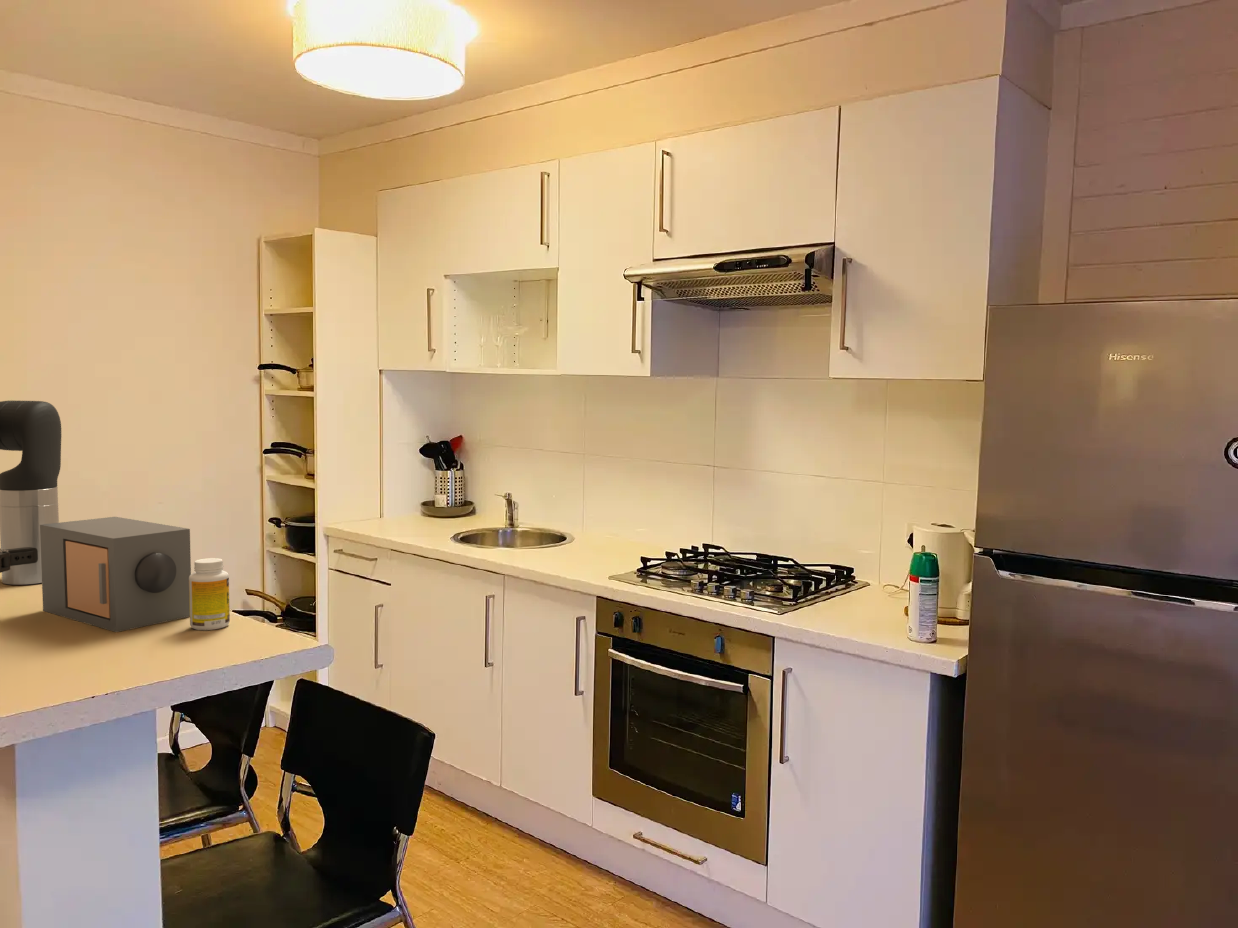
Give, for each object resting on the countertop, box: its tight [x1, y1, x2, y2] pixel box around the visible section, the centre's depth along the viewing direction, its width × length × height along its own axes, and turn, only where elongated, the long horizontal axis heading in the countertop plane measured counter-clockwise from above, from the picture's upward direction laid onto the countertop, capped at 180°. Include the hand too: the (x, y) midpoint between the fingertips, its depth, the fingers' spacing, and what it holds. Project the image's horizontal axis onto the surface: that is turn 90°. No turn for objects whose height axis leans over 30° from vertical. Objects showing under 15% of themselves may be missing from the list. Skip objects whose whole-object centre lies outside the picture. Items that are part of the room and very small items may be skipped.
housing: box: [40, 516, 192, 633], centre depth 147 cm, size 23×12×14 cm, turn 57°
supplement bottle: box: [189, 557, 231, 631], centre depth 141 cm, size 6×6×10 cm
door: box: [66, 540, 110, 618], centre depth 141 cm, size 12×2×10 cm, turn 57°
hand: (34, 554), depth 133 cm, fingers closed
